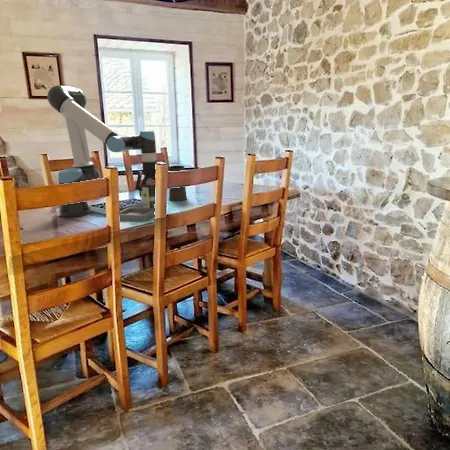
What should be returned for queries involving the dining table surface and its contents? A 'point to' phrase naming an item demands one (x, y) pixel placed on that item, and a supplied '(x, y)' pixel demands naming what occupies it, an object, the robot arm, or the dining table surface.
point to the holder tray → (136, 214)
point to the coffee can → (148, 195)
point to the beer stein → (177, 193)
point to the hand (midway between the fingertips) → (152, 202)
